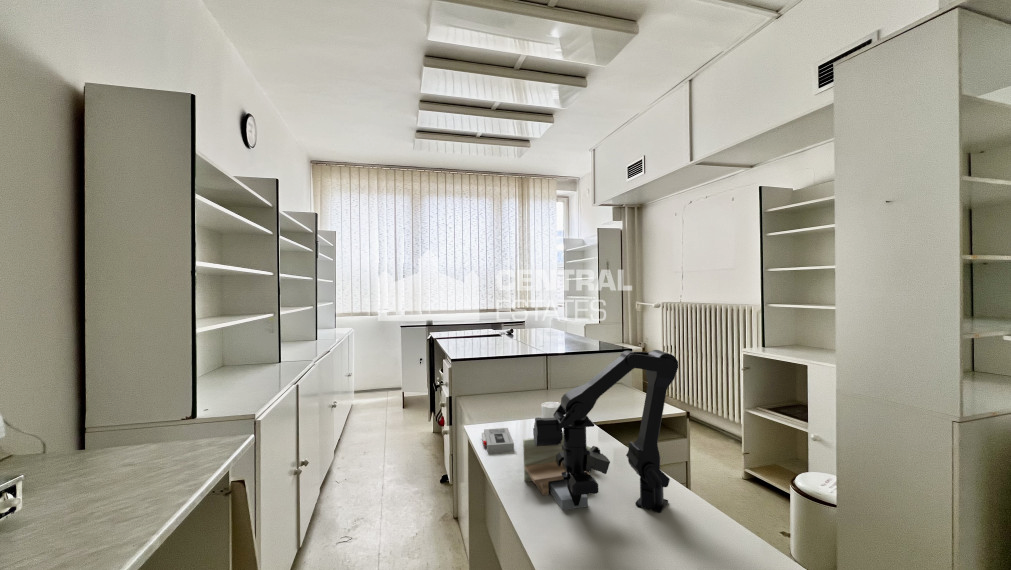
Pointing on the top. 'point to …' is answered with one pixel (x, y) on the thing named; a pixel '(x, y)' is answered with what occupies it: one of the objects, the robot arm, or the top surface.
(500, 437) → the cassette player
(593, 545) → the top surface
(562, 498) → the grey chamfered block
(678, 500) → the top surface
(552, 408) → the white cup
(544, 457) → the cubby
